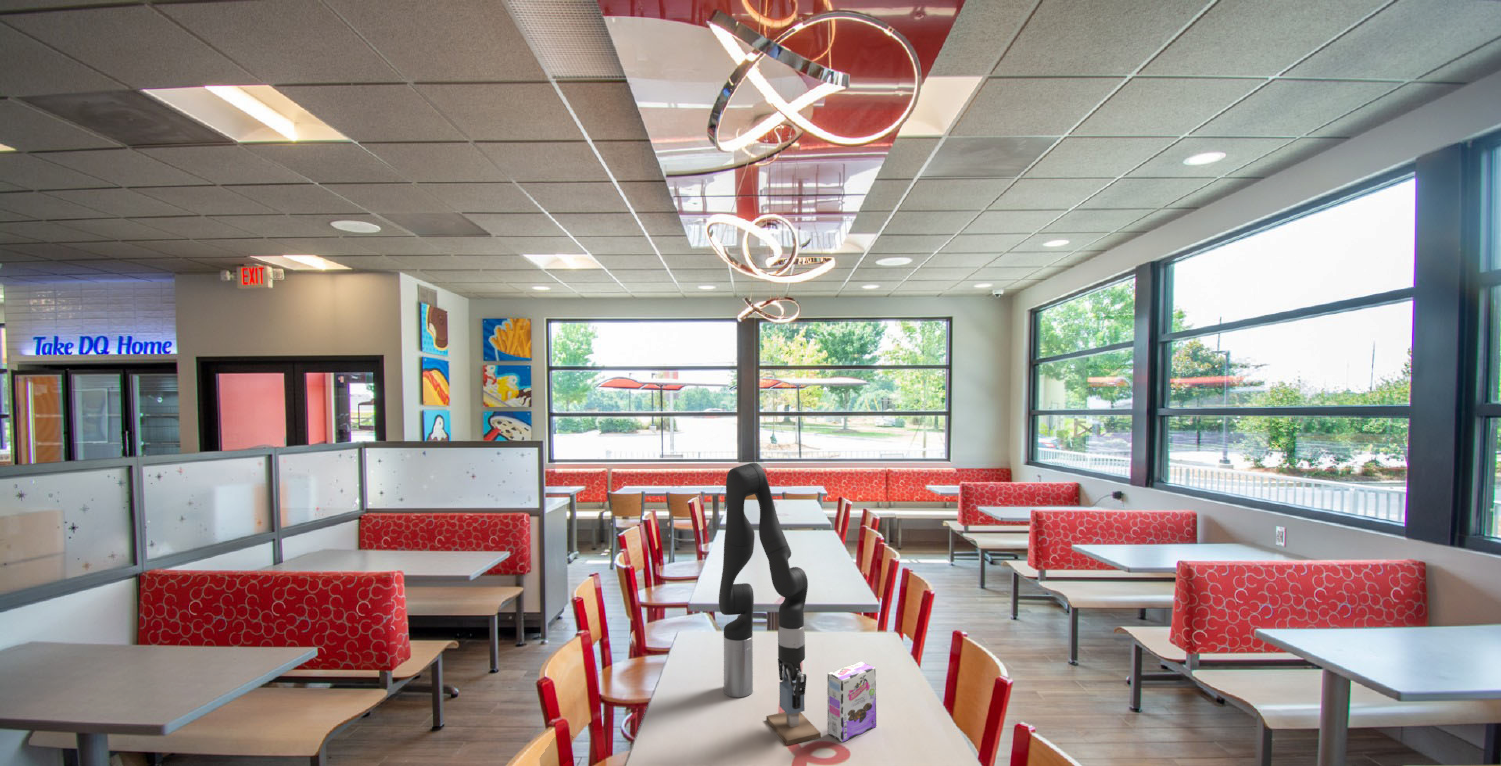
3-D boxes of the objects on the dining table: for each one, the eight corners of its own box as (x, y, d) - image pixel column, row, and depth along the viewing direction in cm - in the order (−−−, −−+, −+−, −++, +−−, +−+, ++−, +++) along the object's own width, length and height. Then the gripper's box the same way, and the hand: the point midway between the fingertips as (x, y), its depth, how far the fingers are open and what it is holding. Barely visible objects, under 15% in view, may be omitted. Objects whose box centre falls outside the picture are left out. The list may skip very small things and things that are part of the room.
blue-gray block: (779, 706, 167) (779, 681, 167) (796, 702, 169) (796, 678, 169) (787, 714, 162) (787, 689, 163) (804, 711, 164) (804, 686, 165)
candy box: (842, 743, 158) (841, 679, 159) (826, 733, 163) (826, 672, 164) (877, 726, 166) (876, 666, 167) (861, 718, 171) (861, 659, 172)
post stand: (766, 720, 170) (766, 696, 170) (797, 713, 174) (797, 689, 174) (787, 745, 157) (787, 719, 158) (820, 737, 161) (820, 712, 161)
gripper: (769, 634, 172) (769, 694, 171) (790, 652, 159) (790, 718, 158) (792, 631, 175) (793, 690, 174) (815, 648, 161) (816, 712, 160)
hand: (792, 703), depth 166 cm, fingers closed on blue-gray block, 5 cm apart
